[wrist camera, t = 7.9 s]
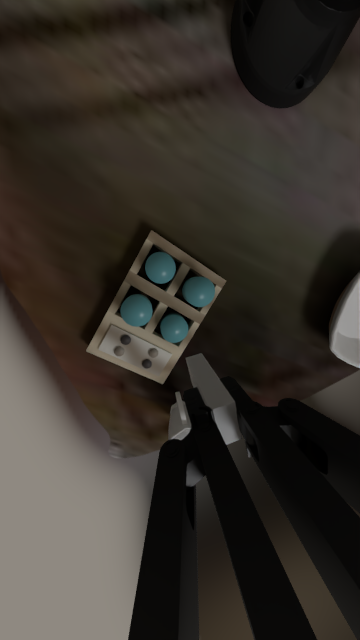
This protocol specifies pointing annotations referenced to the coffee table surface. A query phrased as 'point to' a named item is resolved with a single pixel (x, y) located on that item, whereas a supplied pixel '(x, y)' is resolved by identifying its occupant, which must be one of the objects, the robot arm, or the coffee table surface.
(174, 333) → the button
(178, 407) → the cup
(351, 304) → the bowl
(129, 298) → the button
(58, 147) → the coffee table surface
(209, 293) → the button
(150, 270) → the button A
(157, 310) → the board
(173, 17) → the coffee table surface
